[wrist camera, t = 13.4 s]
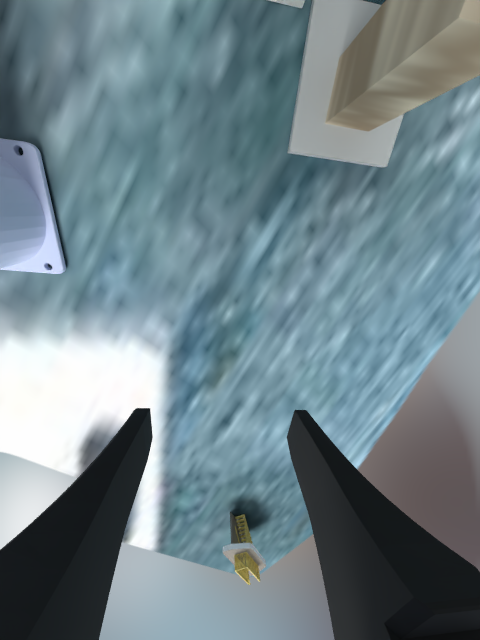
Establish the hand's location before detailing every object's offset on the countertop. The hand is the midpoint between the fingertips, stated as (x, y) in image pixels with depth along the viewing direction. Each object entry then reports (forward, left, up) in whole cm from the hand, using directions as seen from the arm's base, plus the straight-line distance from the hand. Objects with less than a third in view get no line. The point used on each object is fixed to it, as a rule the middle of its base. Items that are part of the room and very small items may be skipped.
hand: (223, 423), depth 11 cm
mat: (+7, +17, -10) cm, 21 cm away
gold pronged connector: (+6, -35, -11) cm, 38 cm away
